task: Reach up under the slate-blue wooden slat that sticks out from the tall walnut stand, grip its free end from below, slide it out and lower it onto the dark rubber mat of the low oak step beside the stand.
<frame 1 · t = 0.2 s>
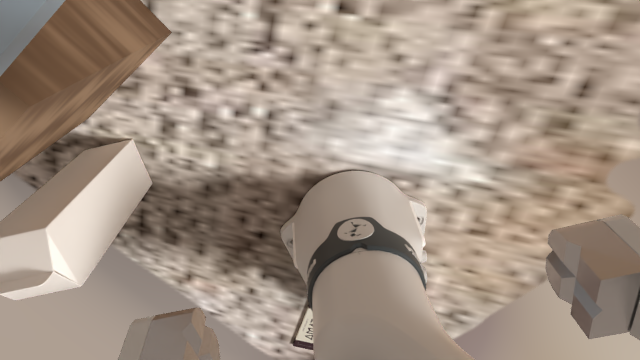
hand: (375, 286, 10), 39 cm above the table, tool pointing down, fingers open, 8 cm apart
milk: (120, 166, 51), on the table
stand: (97, 48, 45), on the table
chocolate bar: (359, 330, 65), on the table
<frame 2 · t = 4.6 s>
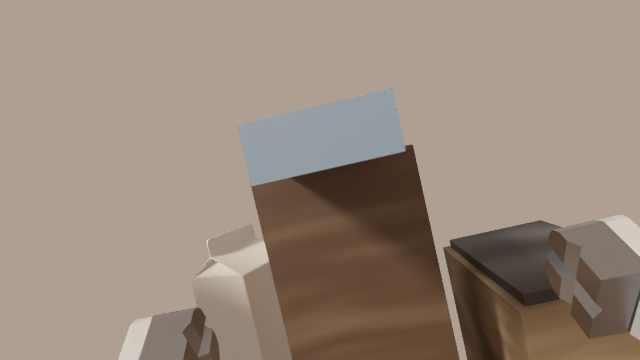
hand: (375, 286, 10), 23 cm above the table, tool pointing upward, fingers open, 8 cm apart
slat: (331, 162, 23), point 26 cm above the table, touching stand
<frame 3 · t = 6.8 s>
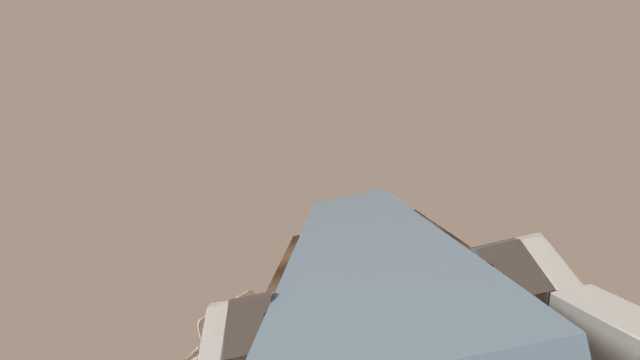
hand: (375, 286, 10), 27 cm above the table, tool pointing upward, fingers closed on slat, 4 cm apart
slat: (367, 270, 16), point 26 cm above the table, touching gripper, stand
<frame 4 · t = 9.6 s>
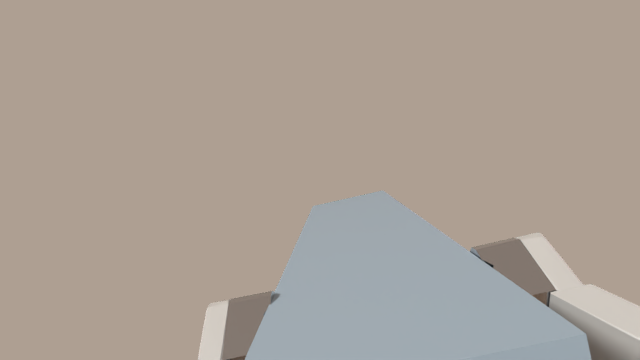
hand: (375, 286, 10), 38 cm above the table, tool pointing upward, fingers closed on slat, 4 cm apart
slat: (366, 272, 16), point 37 cm above the table, touching gripper
when the fingers open (22 cm above the table, at t = 12.7 s): slat drops 2 cm, resting on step.
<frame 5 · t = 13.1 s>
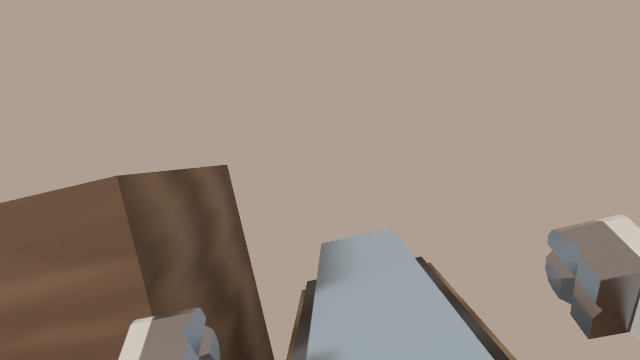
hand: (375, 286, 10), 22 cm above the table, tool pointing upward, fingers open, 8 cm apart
slat: (382, 336, 16), point 18 cm above the table, touching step
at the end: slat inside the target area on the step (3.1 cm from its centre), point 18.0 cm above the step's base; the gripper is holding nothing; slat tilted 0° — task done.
